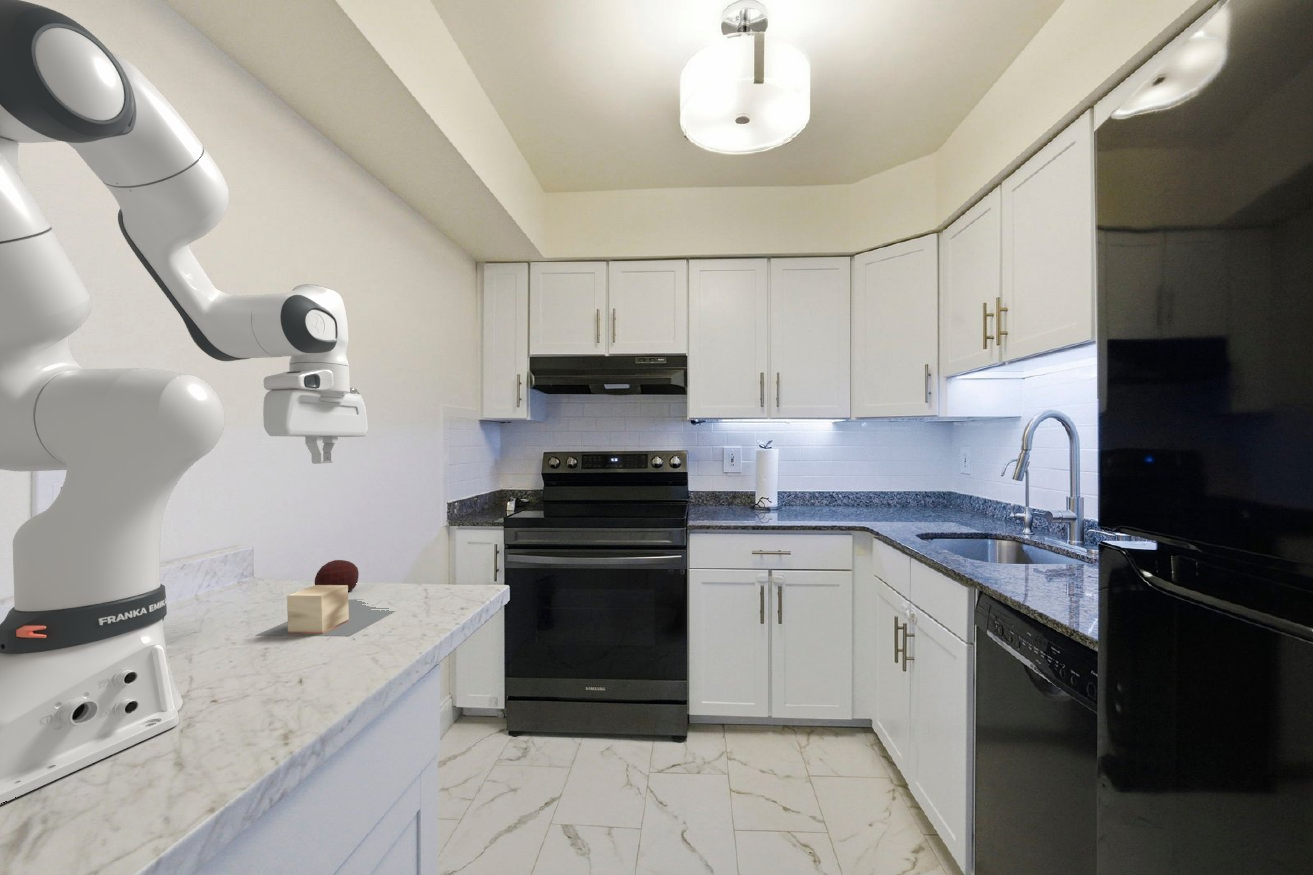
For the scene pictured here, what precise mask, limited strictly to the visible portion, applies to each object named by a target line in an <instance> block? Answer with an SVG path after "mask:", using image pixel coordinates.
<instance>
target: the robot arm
mask: <svg viewBox="0 0 1313 875" xmlns="http://www.w3.org/2000/svg"><path fill="white" fill-rule="evenodd" d="M55 142H62V143H63V142H65V143H66V144H67V145H68V146H70V147H71V148H72V149H73V150H75V151H76V153H77V154H78V156H80V157H81V159H82V160H83V162H84V163H85V164H86V165H87V166H88V167H89V168H90V170H91V171H92V172H93V173H94V174H95V175H96V177H97V178H98V179H99V180H100V181H101V182H102V183H103V185H104V186H105V187H106V188H107V190H109V192H110V193H111V194H112V196H113V197H114V199H115V200H116V202H117V203H118V206H119V210H118V213H117V222H118V226H119V229H120V231H121V233H122V235H123V238H124V239H125V240H126V243H127V244H128V246H129V248H130V249H131V250H132V251H133V253H134V255H135V256H136V257H137V259H138V260H139V262H140V263H141V265H142V266H143V267H144V268H145V270H146V271H147V272H148V274H149V275H150V276H151V278H152V280H154V282H155V283H156V285H157V286H158V287H159V289H160V290H161V291H162V293H163V295H165V297H166V298H167V299H168V300H169V302H170V303H171V304H172V306H173V307H174V309H175V310H176V312H177V313H178V314H179V315H180V318H181V319H182V320H183V322H184V325H185V327H186V330H187V332H188V333H189V335H190V338H191V339H192V340H193V342H194V343H195V345H196V346H197V347H198V348H199V349H200V350H201V351H202V352H204V353H205V354H206V355H207V356H209V357H211V358H212V359H214V360H216V361H221V362H234V361H240V360H241V361H244V360H250V359H262V358H264V359H265V358H266V359H267V358H282V357H283V358H284V357H290V358H289V362H288V363H289V370H288V371H285V372H280V373H277V374H273V375H272V374H271V375H268V376H265V377H264V378H263V387H264V389H265V390H266V391H268V392H266V393H265V395H264V399H263V408H262V409H263V410H262V411H263V412H262V414H263V418H262V419H263V420H262V421H263V428H264V430H265V432H266V433H267V434H268V436H269V437H299V438H301V437H304V438H305V440H304V441H305V442H304V444H305V446H306V447H307V449H308V451H309V453H310V455H311V463H312V464H315V465H317V464H321V465H323V464H332V463H333V462H334V453H335V450H336V449H337V446H338V445H339V438H361V437H363V438H364V437H366V436H367V434H368V432H369V424H368V416H367V414H368V413H367V408H366V404H365V401H364V400H363V396H362V394H360V392H359V391H358V389H357V388H354V387H351V383H350V382H351V381H350V377H351V376H350V363H349V361H348V356H347V350H348V346H349V344H350V343H349V338H350V336H349V324H348V317H347V312H346V306H345V302H344V299H343V298H342V296H341V295H340V294H339V293H338V292H337V291H334V290H333V289H331V288H328V287H325V286H322V285H318V284H309V283H308V284H307V283H306V284H300V285H299V284H298V285H296V286H294V287H293V289H292V291H291V290H290V291H289V292H288V291H287V292H282V293H267V294H256V295H255V294H248V295H235V294H231V293H227V292H224V291H222V290H219V289H217V288H216V287H215V286H214V284H213V283H212V281H211V279H210V278H209V276H208V275H207V273H206V272H205V270H204V269H203V266H201V264H200V262H199V261H198V260H197V258H196V256H195V255H194V253H193V252H192V250H191V248H190V245H189V244H191V243H193V242H195V241H197V240H199V239H201V238H203V237H205V236H206V235H208V234H209V233H210V232H212V230H214V229H215V228H216V227H217V226H218V224H220V222H221V221H222V220H223V219H224V217H225V215H226V213H227V211H228V208H229V204H230V190H229V187H228V183H227V181H226V179H225V177H224V175H223V173H222V172H221V170H220V167H219V166H218V165H217V164H216V162H215V160H214V159H213V157H212V156H211V155H210V153H209V152H208V151H207V149H206V148H205V147H204V145H203V144H202V142H201V141H200V140H199V138H198V136H196V134H195V133H194V131H193V130H192V129H191V127H190V126H189V125H188V124H187V122H186V121H185V120H184V119H183V117H182V116H181V115H180V114H179V112H178V111H177V110H176V109H175V108H174V107H173V106H172V104H171V103H170V102H169V100H168V99H166V97H165V96H164V95H163V94H162V93H161V92H160V91H159V89H157V87H156V86H155V85H154V84H153V83H152V82H151V81H150V80H149V79H148V78H147V77H146V76H145V74H143V73H142V72H141V71H140V70H139V69H138V67H136V66H135V65H134V64H133V63H131V62H130V61H129V60H127V59H126V58H125V57H123V56H121V55H119V54H116V53H114V52H111V51H110V49H109V48H107V46H106V45H105V44H104V43H102V41H100V40H99V38H97V37H96V35H94V34H93V33H92V32H90V31H89V30H88V29H87V28H86V27H84V26H83V25H81V24H80V23H79V22H77V21H75V20H74V19H72V18H71V17H69V16H68V15H65V14H63V13H61V12H59V11H57V10H55V9H51V8H49V7H46V6H43V5H40V4H36V3H33V2H28V1H24V0H0V470H3V471H9V472H42V471H43V472H47V471H66V474H65V478H64V481H63V484H62V487H61V489H60V491H59V493H58V494H57V497H56V499H54V501H53V502H52V503H51V505H50V506H49V507H48V508H46V509H45V510H44V511H42V512H40V513H37V514H35V515H34V516H32V517H31V518H29V519H28V520H26V521H25V522H24V523H22V524H21V525H20V527H19V528H17V530H16V532H15V534H14V536H13V539H12V564H13V565H12V566H13V567H12V568H13V595H14V596H13V597H14V598H13V599H14V601H13V602H14V603H13V604H14V606H13V607H12V608H11V609H10V610H9V611H8V613H7V615H6V616H5V618H4V620H3V621H1V623H0V803H2V802H5V801H7V802H9V801H11V800H14V799H16V798H18V797H21V796H23V795H25V794H27V793H29V792H31V791H33V790H36V789H38V788H41V787H42V786H44V785H47V784H50V783H51V782H54V781H55V780H59V779H60V778H63V777H65V776H67V775H69V774H71V773H73V772H76V771H78V770H80V769H83V768H85V767H87V766H89V765H92V764H93V763H96V762H99V761H100V760H102V759H105V758H107V757H109V756H110V757H111V755H114V754H116V753H119V752H120V751H123V750H125V749H127V748H130V747H132V746H134V745H137V744H139V743H140V742H142V741H145V740H148V739H149V738H152V737H154V736H156V735H159V734H161V733H163V732H165V731H168V730H169V729H172V728H174V727H176V726H177V725H178V724H179V723H180V717H179V710H180V709H181V707H182V706H183V704H184V699H183V698H182V695H181V693H180V691H179V689H178V686H177V684H176V681H175V678H174V675H173V671H172V668H171V664H170V660H169V655H168V654H169V653H168V649H167V644H166V638H165V630H164V619H165V617H166V616H167V614H168V612H167V610H168V609H167V603H168V602H167V596H166V586H165V585H164V584H163V583H161V538H162V536H161V535H162V522H163V518H164V514H165V510H166V507H167V504H168V502H169V500H170V498H171V496H172V493H173V492H174V489H175V488H176V486H177V484H178V483H179V481H180V479H182V477H183V476H184V475H185V473H186V472H188V470H190V468H191V467H192V466H193V465H194V464H195V463H197V461H198V462H199V460H201V459H202V458H203V457H204V456H206V455H208V454H209V453H210V452H211V451H212V450H213V449H214V448H215V447H216V446H217V444H218V442H219V441H220V439H221V437H222V436H223V434H224V433H223V432H224V430H225V425H226V416H225V414H226V413H225V409H224V405H223V404H222V401H221V398H220V397H219V395H218V394H217V392H216V391H215V390H214V389H213V387H212V386H211V385H210V384H208V382H206V381H205V380H204V379H202V378H199V377H198V376H195V375H193V374H192V375H191V374H186V373H181V372H176V371H170V370H162V369H156V368H148V367H129V368H128V367H127V368H126V367H124V368H122V367H121V368H117V367H116V368H84V367H82V366H81V365H79V363H78V362H77V361H76V360H75V358H74V355H73V354H72V351H71V348H70V343H69V336H70V335H72V334H73V333H74V332H76V331H78V329H79V328H81V327H82V325H83V324H85V322H86V321H87V319H88V318H89V316H90V315H91V312H92V308H93V302H92V301H93V300H92V297H91V294H90V293H89V291H88V289H87V287H86V286H85V284H84V282H83V280H82V278H81V277H80V274H79V273H78V271H77V269H76V268H75V266H74V264H73V263H72V261H71V259H70V257H69V255H68V253H67V251H66V250H65V248H64V247H63V245H62V243H61V241H60V239H59V238H58V236H57V234H56V232H55V231H54V229H53V227H52V226H51V224H50V222H49V221H48V219H47V217H46V215H45V214H44V212H43V210H42V209H41V207H40V205H39V203H38V202H37V200H36V199H35V198H34V196H33V195H32V193H31V191H30V190H29V189H28V188H27V186H26V185H25V183H24V181H23V178H22V174H21V171H20V167H19V159H18V158H19V156H18V155H19V145H20V143H22V144H23V143H24V144H25V143H26V144H28V143H29V144H30V143H31V144H33V143H35V144H36V143H55ZM321 444H323V445H321ZM15 797H16V798H15ZM5 803H6V802H5ZM2 804H3V803H2Z"/></svg>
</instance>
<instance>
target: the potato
mask: <svg viewBox="0 0 1313 875" xmlns="http://www.w3.org/2000/svg"><path fill="white" fill-rule="evenodd" d="M359 575H360V574H359V569H358V567H357V566H356V564H354V563H353V562H351V561H349V560H344V559H343V560H342V559H334V560H331V561H328V562H326V563H325V564H323V565H322V566H321V567H320V569H319V570H317V572H316V574H315V578H314V586H315V585H348V591H349V592H351V591H352V590H354V589H355V588H356V587H357V584H358V582H359ZM356 583H357V584H356Z"/></svg>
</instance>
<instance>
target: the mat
mask: <svg viewBox="0 0 1313 875" xmlns="http://www.w3.org/2000/svg"><path fill="white" fill-rule="evenodd" d="M357 600H358V599H348V605H349V621H348V622H346V623H344V624H342V625H340V626H338V627H336V628H334V629H331V630H329V631H327V632H325V633H323V634H302V633H288V620H287V621H284V622H283V623H280V624H279V625H276V626H273V627H272V628H269V629H267V630H265V631H261V632H259V633H257V634H255V637H257V636H260V637H261V636H262V637H263V636H264V637H265V636H267V637H269V636H271V637H272V636H273V637H275V636H276V637H278V636H279V637H281V636H282V637H284V636H286V637H351V636H353V635H355V634H356V633H358V632H360V631H362V630H364V629H366V628H367V627H370V626H372V625H373V624H375V623H377V622H379V621H381V620H382V619H385V618H386V617H389V616H390V615H392V614H394V613H395V611H389V610H386V611H385V610H381V611H380V610H371V609H389V608H376V607H369V606H366V605H362V604H366V603H365V602H362V601H357ZM367 604H368V603H367Z"/></svg>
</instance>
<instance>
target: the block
mask: <svg viewBox="0 0 1313 875" xmlns="http://www.w3.org/2000/svg"><path fill="white" fill-rule="evenodd" d="M348 600H349V592H348V585H315V584H314V585H312V586H310V587H307V588H303V589H301V590H298V591H295V592H293V593H290V594H287V595H286V603H287V604H286V605H287V607H286V608H287V621H288V633H302V634H323V633H325V632H327V631H329V630H331V629H334V628H336V627H338V626H340V625H342V624H344V623H346V622H348V621H349V605H348Z"/></svg>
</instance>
